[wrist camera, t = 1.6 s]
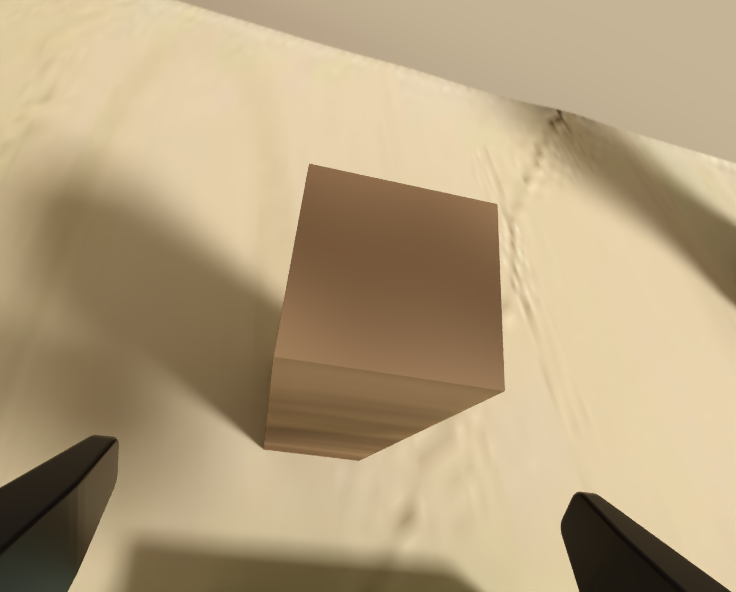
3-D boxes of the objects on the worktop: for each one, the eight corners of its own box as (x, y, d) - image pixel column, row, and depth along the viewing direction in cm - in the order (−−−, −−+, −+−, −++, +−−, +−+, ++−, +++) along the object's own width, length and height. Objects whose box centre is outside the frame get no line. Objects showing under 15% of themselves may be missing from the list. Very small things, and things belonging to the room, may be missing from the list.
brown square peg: (359, 460, 20) (505, 390, 8) (263, 449, 19) (273, 356, 7) (367, 369, 21) (497, 204, 10) (280, 356, 21) (309, 163, 9)
